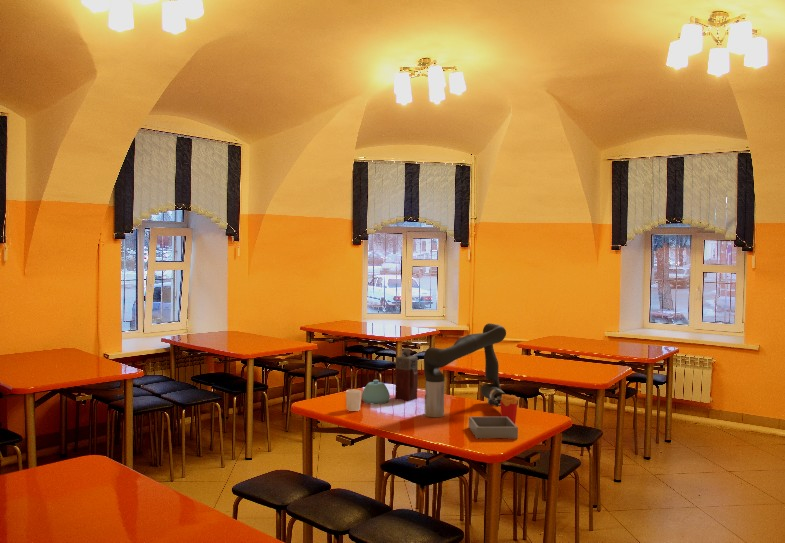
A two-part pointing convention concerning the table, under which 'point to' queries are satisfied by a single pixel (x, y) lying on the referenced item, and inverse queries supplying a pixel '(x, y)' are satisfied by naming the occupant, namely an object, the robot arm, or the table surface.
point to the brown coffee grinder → (406, 376)
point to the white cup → (353, 399)
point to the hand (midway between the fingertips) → (506, 404)
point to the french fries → (509, 407)
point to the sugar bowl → (375, 392)
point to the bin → (493, 427)
